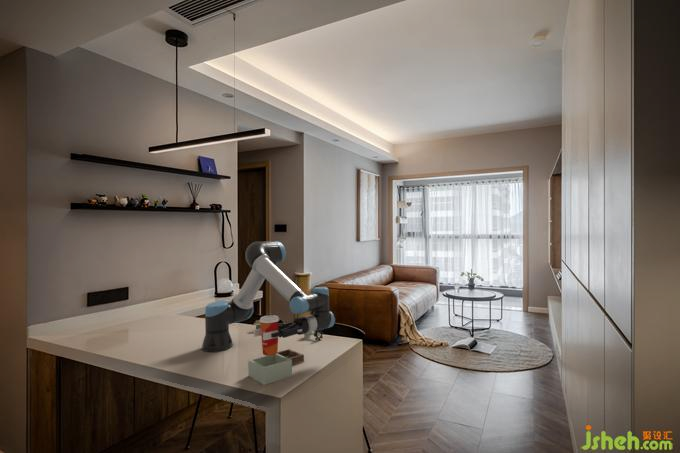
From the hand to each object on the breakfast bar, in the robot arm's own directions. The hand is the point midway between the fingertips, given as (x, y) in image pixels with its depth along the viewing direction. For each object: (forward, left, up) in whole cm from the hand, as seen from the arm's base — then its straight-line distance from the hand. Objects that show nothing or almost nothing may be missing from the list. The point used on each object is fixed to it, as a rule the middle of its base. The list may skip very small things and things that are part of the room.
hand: (258, 335), depth 148 cm
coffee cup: (0, +5, -9) cm, 10 cm away
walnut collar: (-10, +19, -18) cm, 28 cm away
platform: (-69, +39, -18) cm, 81 cm away
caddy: (0, +5, -18) cm, 18 cm away
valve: (-31, +50, -18) cm, 61 cm away
